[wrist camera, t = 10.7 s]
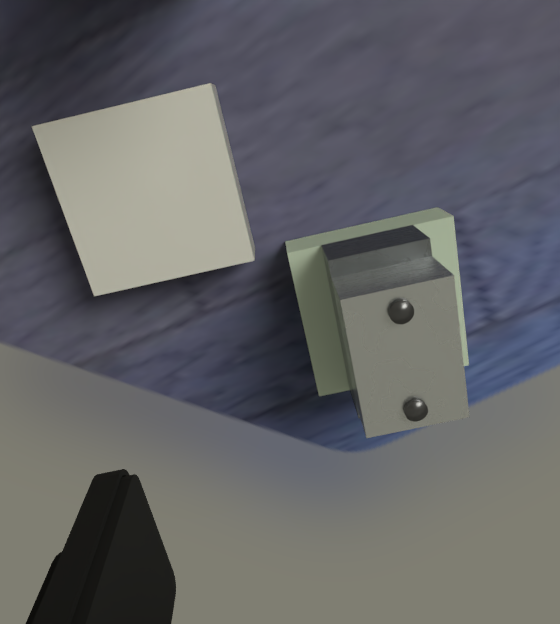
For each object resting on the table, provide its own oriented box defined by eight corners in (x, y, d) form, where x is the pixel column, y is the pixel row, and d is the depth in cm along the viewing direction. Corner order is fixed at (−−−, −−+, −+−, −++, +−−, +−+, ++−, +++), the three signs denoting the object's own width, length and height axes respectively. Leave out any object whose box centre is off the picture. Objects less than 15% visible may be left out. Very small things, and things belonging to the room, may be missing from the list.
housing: (321, 245, 32) (337, 282, 25) (412, 224, 32) (454, 257, 25) (349, 389, 35) (370, 456, 29) (432, 372, 35) (473, 436, 28)
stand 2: (314, 375, 38) (319, 396, 35) (285, 241, 35) (287, 253, 32) (453, 346, 38) (468, 365, 35) (437, 207, 34) (453, 216, 31)
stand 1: (107, 281, 35) (94, 296, 32) (52, 124, 32) (31, 126, 29) (255, 248, 35) (254, 260, 32) (215, 85, 31) (210, 83, 28)
